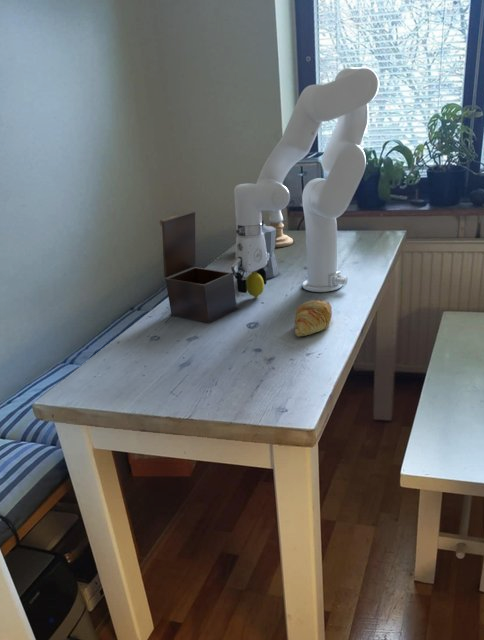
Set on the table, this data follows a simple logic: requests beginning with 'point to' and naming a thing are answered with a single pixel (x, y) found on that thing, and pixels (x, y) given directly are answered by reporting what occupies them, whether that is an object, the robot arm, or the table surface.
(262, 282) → the lemon
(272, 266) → the coffeepot
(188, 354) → the table surface
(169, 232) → the lid
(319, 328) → the croissant
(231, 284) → the chest
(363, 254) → the table surface
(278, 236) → the candle holder
